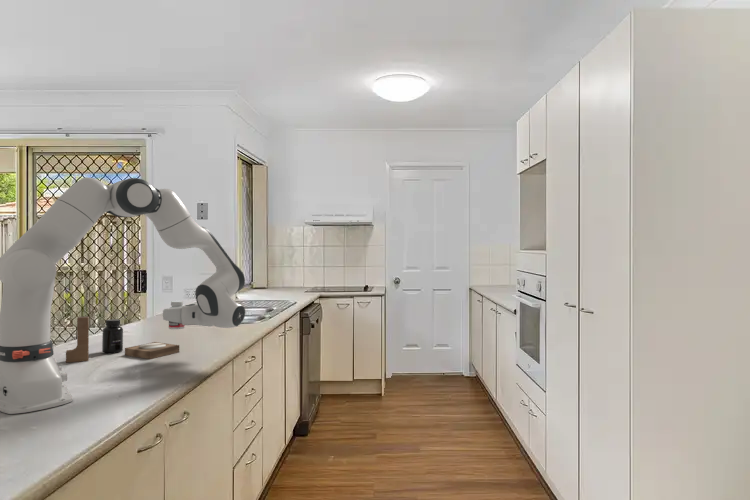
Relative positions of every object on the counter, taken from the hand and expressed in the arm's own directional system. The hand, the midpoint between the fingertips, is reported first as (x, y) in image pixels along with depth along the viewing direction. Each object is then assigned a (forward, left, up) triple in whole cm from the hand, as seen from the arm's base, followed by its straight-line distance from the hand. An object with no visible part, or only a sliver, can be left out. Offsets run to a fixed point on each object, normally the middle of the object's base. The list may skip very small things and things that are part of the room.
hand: (175, 310), depth 180 cm
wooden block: (+18, +25, -17) cm, 36 cm away
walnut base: (+11, +3, -17) cm, 20 cm away
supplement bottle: (+24, +11, -17) cm, 32 cm away
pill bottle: (-1, 0, -7) cm, 7 cm away
